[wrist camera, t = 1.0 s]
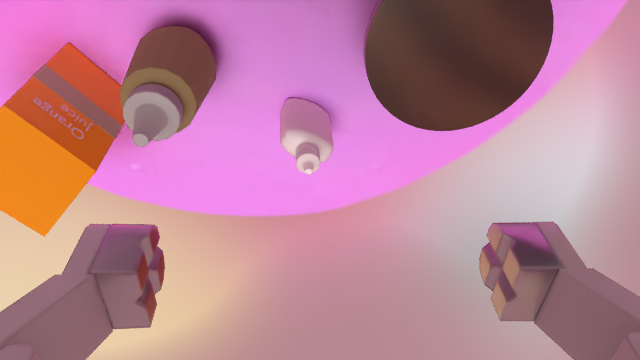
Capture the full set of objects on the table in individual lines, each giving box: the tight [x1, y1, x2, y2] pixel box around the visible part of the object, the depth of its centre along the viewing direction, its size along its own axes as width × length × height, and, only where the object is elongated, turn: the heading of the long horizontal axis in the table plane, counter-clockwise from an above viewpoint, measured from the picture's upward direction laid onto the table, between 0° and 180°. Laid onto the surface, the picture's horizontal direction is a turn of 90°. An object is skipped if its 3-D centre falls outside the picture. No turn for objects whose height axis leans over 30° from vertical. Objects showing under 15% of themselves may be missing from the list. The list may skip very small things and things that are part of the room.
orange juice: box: [0, 42, 125, 237], centre depth 45 cm, size 8×9×20 cm
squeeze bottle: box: [120, 26, 217, 147], centre depth 44 cm, size 8×8×18 cm
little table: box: [364, 0, 553, 131], centre depth 46 cm, size 16×16×11 cm
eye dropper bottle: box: [280, 98, 333, 175], centre depth 52 cm, size 4×6×12 cm
